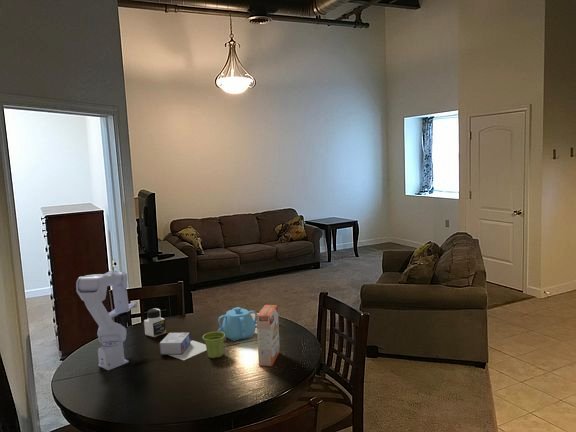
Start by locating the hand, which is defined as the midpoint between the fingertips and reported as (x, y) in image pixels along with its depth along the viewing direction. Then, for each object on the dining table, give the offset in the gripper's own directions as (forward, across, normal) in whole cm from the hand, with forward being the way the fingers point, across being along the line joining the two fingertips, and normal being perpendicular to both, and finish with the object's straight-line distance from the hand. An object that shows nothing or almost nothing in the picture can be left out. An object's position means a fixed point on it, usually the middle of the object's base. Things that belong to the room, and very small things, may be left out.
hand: (124, 328), depth 208 cm
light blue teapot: (+12, +34, -36) cm, 51 cm away
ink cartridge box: (+7, +4, -23) cm, 24 cm away
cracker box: (+9, +19, -63) cm, 67 cm away
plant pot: (+10, +12, -40) cm, 43 cm away
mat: (+10, +12, -26) cm, 30 cm away
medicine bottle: (+12, +20, +4) cm, 24 cm away
